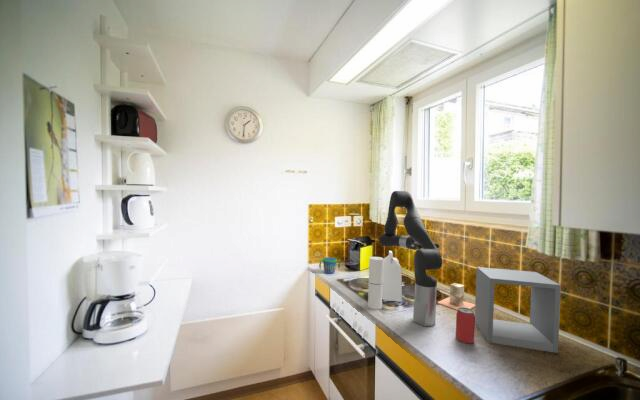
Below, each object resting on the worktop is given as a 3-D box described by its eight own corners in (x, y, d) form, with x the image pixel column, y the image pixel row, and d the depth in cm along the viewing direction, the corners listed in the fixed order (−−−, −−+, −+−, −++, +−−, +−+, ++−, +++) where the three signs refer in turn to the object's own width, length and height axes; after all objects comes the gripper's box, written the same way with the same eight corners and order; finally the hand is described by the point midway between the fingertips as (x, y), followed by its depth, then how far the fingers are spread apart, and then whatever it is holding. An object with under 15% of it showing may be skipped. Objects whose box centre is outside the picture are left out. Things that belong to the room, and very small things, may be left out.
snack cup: (337, 270, 200) (338, 256, 199) (341, 274, 189) (342, 260, 189) (317, 271, 196) (318, 257, 196) (320, 275, 186) (320, 261, 186)
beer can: (472, 337, 108) (473, 308, 108) (475, 345, 102) (477, 315, 102) (454, 334, 110) (455, 305, 110) (456, 342, 104) (458, 312, 104)
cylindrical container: (365, 306, 136) (366, 258, 135) (372, 302, 141) (374, 255, 141) (377, 310, 131) (379, 260, 130) (384, 306, 136) (386, 258, 136)
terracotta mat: (464, 312, 131) (464, 311, 131) (437, 303, 142) (437, 302, 142) (476, 306, 140) (476, 304, 140) (449, 297, 151) (449, 296, 151)
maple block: (463, 304, 140) (464, 285, 140) (459, 306, 137) (459, 287, 137) (454, 300, 144) (454, 282, 144) (449, 303, 141) (450, 284, 141)
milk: (378, 292, 155) (379, 249, 154) (398, 294, 153) (399, 250, 153) (379, 301, 143) (381, 253, 143) (401, 302, 142) (403, 254, 141)
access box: (557, 352, 99) (560, 285, 98) (487, 342, 105) (490, 278, 104) (533, 330, 115) (536, 272, 115) (474, 321, 122) (476, 266, 121)
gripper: (401, 237, 153) (428, 241, 140) (415, 235, 161) (441, 239, 149) (401, 250, 153) (427, 255, 140) (415, 247, 161) (441, 252, 149)
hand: (434, 247), depth 144 cm, fingers open, 8 cm apart
